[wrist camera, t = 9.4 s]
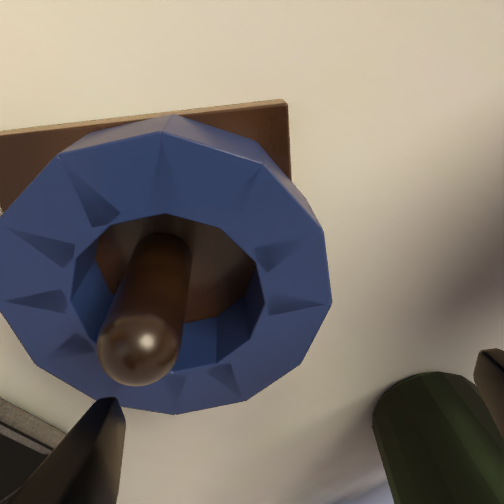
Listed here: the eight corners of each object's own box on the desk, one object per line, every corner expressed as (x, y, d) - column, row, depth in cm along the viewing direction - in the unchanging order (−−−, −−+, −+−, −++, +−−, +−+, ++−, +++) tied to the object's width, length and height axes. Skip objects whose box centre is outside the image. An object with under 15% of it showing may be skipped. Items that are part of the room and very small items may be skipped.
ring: (290, 86, 13) (307, 97, 10) (325, 334, 18) (342, 382, 16) (-25, 157, 13) (-84, 185, 11) (100, 379, 19) (80, 434, 16)
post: (283, 98, 14) (336, 144, 8) (295, 327, 20) (333, 469, 13) (-13, 131, 14) (-216, 208, 8) (81, 353, 19) (8, 512, 13)
